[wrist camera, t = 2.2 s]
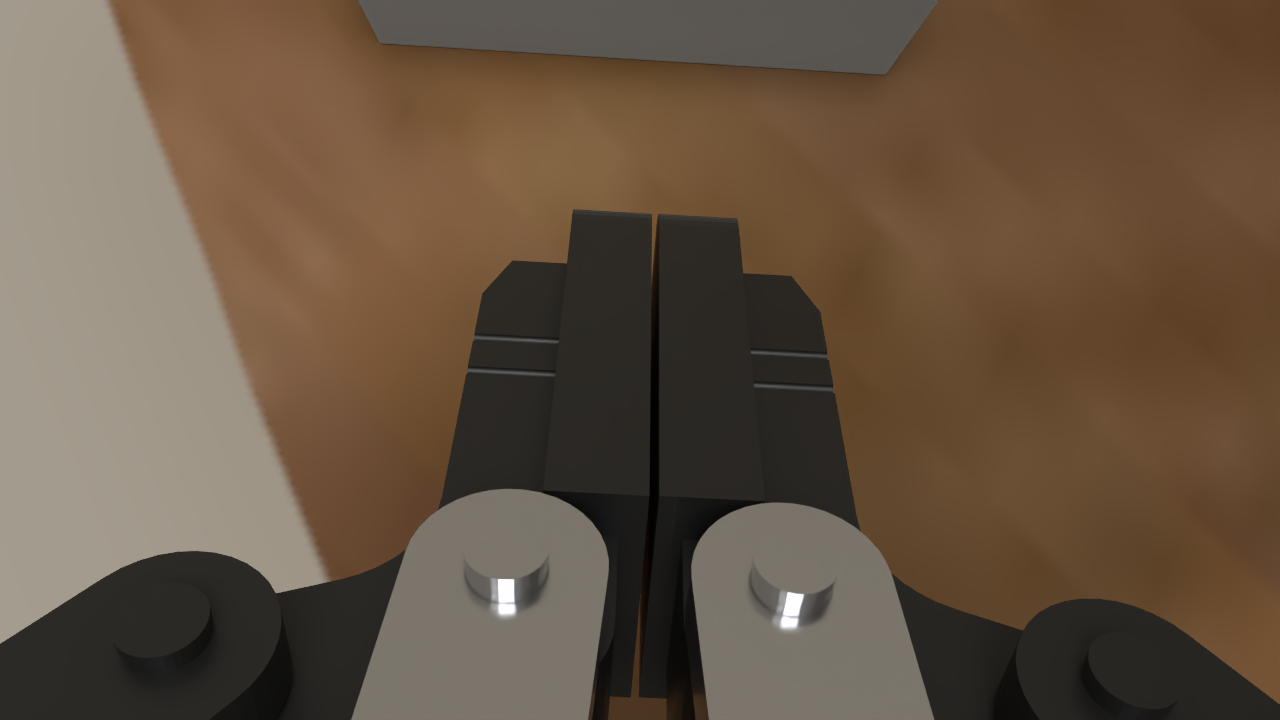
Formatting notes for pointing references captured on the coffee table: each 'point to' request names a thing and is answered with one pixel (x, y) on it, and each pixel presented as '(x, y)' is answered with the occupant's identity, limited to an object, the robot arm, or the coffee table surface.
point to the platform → (666, 29)
